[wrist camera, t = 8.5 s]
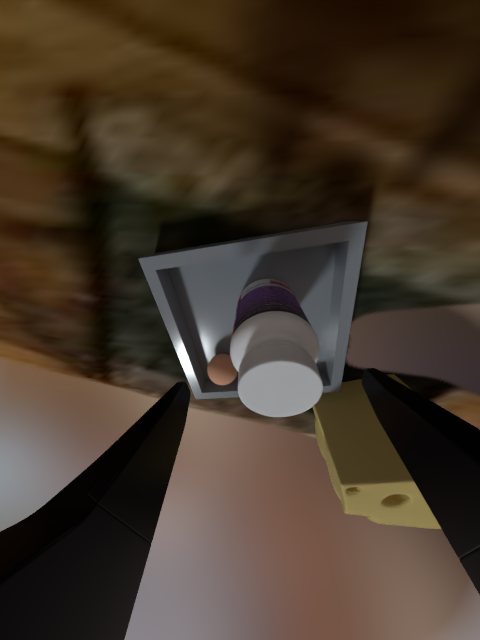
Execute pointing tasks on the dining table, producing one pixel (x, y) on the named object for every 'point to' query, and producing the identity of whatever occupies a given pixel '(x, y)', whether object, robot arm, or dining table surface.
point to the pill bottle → (274, 351)
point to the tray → (245, 268)
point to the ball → (221, 369)
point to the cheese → (366, 461)
